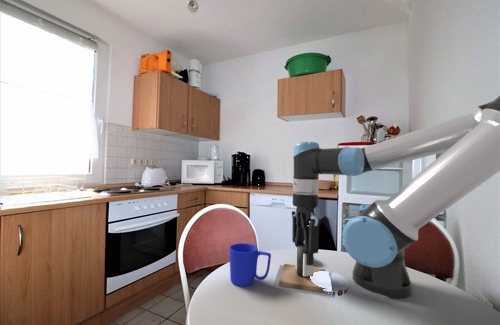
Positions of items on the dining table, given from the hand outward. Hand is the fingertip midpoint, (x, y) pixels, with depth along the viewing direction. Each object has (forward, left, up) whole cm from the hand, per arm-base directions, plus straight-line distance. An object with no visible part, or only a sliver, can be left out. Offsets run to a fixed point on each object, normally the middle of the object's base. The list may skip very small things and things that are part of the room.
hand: (303, 271), depth 68 cm
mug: (+15, +7, -3) cm, 17 cm away
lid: (0, 0, -2) cm, 2 cm away
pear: (0, -16, -3) cm, 16 cm away
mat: (0, 0, -3) cm, 3 cm away
